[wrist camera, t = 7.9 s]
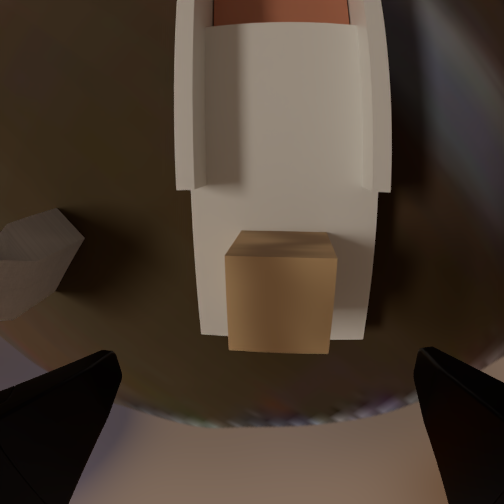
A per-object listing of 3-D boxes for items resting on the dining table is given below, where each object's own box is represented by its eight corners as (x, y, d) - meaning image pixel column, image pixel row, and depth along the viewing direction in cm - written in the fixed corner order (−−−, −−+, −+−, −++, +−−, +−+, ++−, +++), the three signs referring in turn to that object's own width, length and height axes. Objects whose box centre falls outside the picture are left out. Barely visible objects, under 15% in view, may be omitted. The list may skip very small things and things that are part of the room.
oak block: (326, 232, 19) (337, 258, 14) (321, 309, 20) (328, 353, 15) (241, 230, 19) (224, 255, 15) (243, 306, 21) (228, 349, 16)
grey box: (85, 237, 23) (-6, 284, 14) (55, 291, 25) (-20, 344, 16) (57, 207, 23) (-37, 240, 13) (30, 263, 25) (-48, 306, 15)
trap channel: (356, -31, 15) (367, -63, 11) (358, 324, 22) (369, 360, 18) (200, -28, 16) (182, -58, 12) (208, 320, 24) (191, 354, 19)
